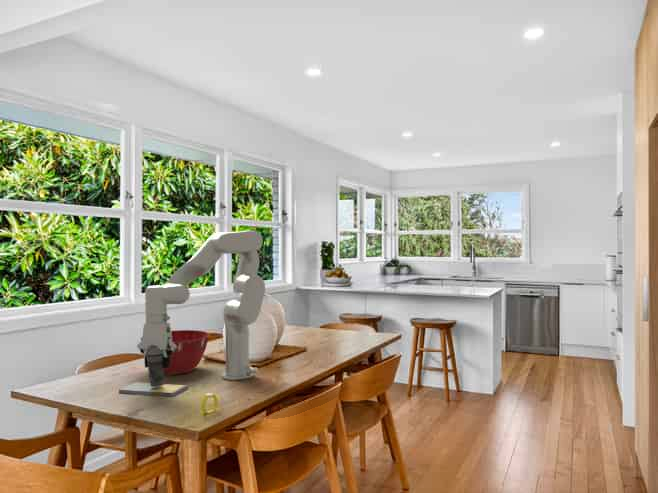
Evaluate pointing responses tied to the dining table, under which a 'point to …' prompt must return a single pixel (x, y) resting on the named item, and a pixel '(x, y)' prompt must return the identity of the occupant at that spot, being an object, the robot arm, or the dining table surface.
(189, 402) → the dining table surface
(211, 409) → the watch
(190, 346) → the mixing bowl
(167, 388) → the grey yellow flat slab
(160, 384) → the beverage cup
